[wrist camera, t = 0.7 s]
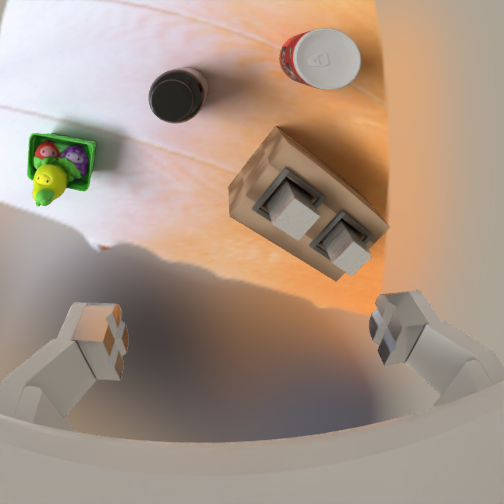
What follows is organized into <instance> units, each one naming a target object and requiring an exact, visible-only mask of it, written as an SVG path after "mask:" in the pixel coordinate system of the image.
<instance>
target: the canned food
mask: <svg viewBox="0 0 504 504" xmlns="http://www.w3.org/2000/svg"><path fill="white" fill-rule="evenodd" d="M280 65H281V67H282V69H283V71H284V72H285V74H286V75H287V76H288V77H289V78H291V79H293V80H294V81H297V82H299V83H302V84H305V85H308V86H311V87H314V88H318V89H323V90H334V89H339V88H342V87H345V86H346V85H348V84H350V83H351V82H352V81H353V80H354V79H355V77H356V76H357V74H358V72H359V70H360V66H361V55H360V51H359V49H358V47H357V45H356V43H355V42H354V41H353V40H352V39H351V38H350V37H349V36H348V35H346V34H345V33H343V32H341V31H339V30H335V29H329V28H321V29H315V30H312V31H308V32H305V33H302V34H300V35H297V36H294V37H292V38H290V39H289V40H288V41H287V42H286V43H285V44H284V45H283V47H282V49H281V52H280Z"/></svg>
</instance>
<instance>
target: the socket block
mask: <svg viewBox="0 0 504 504" xmlns="http://www.w3.org/2000/svg"><path fill="white" fill-rule="evenodd" d="M285 177H288V178H289V179H291V180H292V181H293V182H295V183H296V184H297V185H299V186H300V187H302V188H303V189H304V190H306V192H307V194H308V196H309V197H310V199H311V201H312V203H313V204H314V206H315V208H316V210H317V211H318V213H319V215H320V218H319V219H318V220H317V221H316V222H315V223H314V224H313V225H312V226H311V228H310V229H309V230H308V231H307V232H306V233H305V234H304V235H303V236H302V237H301V239H300V240H299V241H298V240H296V239H295V238H293V237H291V236H290V235H288V234H287V233H285V232H284V231H282V230H281V229H279V228H277V227H276V226H274V225H273V224H272V221H271V218H270V214H269V210H268V207H267V203H266V200H267V199H268V198H269V197H270V195H271V194H272V193H273V192H274V190H275V189H276V188H277V187H278V186H279V184H280V183H281V182H282V181H283V180H284V178H285ZM229 212H230V217H231V218H233V219H235V220H236V221H238V222H240V223H241V224H243V225H245V226H246V227H248V228H250V229H251V230H253V231H255V232H256V233H258V234H260V235H261V236H263V237H264V238H266V239H268V240H269V241H271V242H273V243H274V244H276V245H278V246H279V247H281V248H283V249H284V250H286V251H287V252H289V253H291V254H292V255H294V256H296V257H297V258H299V259H300V260H302V261H304V262H305V263H307V264H309V265H310V266H312V267H313V268H315V269H317V270H318V271H320V272H321V273H323V274H325V275H326V276H328V277H329V278H331V279H333V280H334V281H337V280H338V279H339V278H340V277H341V276H342V275H343V274H344V273H345V271H343V270H342V269H340V268H339V267H337V266H336V265H334V264H333V263H332V261H331V259H330V257H329V255H328V253H327V251H326V249H325V247H324V245H323V242H322V239H323V238H324V237H325V236H326V235H327V233H328V232H329V231H330V230H331V229H332V228H333V227H334V226H335V225H336V224H337V223H338V222H339V221H340V219H341V218H343V219H344V220H345V221H346V222H348V223H349V224H350V225H352V226H353V227H354V229H355V230H356V232H357V233H358V235H359V236H360V238H361V239H362V241H363V242H364V244H365V245H366V247H367V248H368V249H369V248H370V247H371V246H372V245H373V244H374V243H375V242H376V241H377V240H378V239H379V238H380V237H381V236H382V235H383V234H384V233H385V232H386V231H387V230H388V229H389V225H388V224H387V223H386V222H385V221H384V219H383V218H382V217H381V216H380V215H379V213H378V212H377V211H376V210H375V209H374V208H373V206H372V205H371V204H370V203H369V202H368V201H367V200H366V198H365V197H363V196H362V195H361V194H360V193H359V192H358V191H357V190H355V189H354V188H353V187H352V186H351V185H350V184H348V183H347V182H346V181H345V180H344V179H342V178H341V177H340V176H339V175H338V174H336V173H335V172H334V171H333V170H332V169H330V168H329V167H328V166H327V165H325V164H324V163H323V162H322V161H321V160H319V159H318V158H317V157H316V156H314V155H313V154H312V153H310V152H309V151H308V150H307V149H305V148H304V147H303V146H301V145H300V144H299V143H298V142H296V141H295V140H294V139H292V138H291V137H290V136H288V135H287V134H286V133H284V132H283V131H282V130H280V129H279V128H277V127H275V128H274V129H273V130H272V132H271V133H270V134H269V135H268V137H267V138H266V139H265V140H264V142H263V143H262V144H261V145H260V147H259V148H258V149H257V150H256V152H255V153H254V154H253V156H252V157H251V158H250V159H249V161H248V162H247V163H246V165H245V166H244V167H243V168H242V170H241V171H240V172H239V174H238V175H237V176H236V178H235V179H234V180H233V182H232V183H231V184H230V186H229Z"/></svg>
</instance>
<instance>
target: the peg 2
mask: <svg viewBox="0 0 504 504" xmlns="http://www.w3.org/2000/svg"><path fill="white" fill-rule="evenodd" d="M322 242H323V245H324V247H325V249H326V251H327V253H328V255H329V257H330V259H331V261H332V263H333V264H334V265H336V266H337V267H339V268H340V269H342V270H343V271H345V272H346V273H348V274H349V275H351V276H353V275H354V274H355V273H356V272H357V271H358V270H359V269H360V268H361V267H362V266H363V265H364V264H365V263H366V262H367V261H368V260H369V259H370V258H371V257H372V255H371V253H370V251H369V250H368V248H367V247H366V245H365V244H364V242H363V241H362V239H361V238H360V236H359V235H358V233H357V232H356V230H355V229H354V227H353V226H352V225H350V224H349V223H348V222H346V221H345V220H344V219H343V218H341V219H340V221H339V222H338V223H337V224H336V225H335V226H334V227H333V228H332V229H331V230H330V231H329V232H328V233H327V235H326V236H325V237H324V238H323V239H322Z"/></svg>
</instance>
